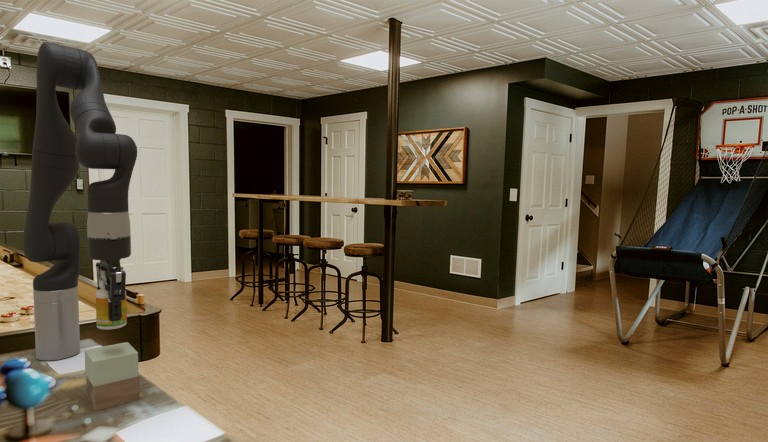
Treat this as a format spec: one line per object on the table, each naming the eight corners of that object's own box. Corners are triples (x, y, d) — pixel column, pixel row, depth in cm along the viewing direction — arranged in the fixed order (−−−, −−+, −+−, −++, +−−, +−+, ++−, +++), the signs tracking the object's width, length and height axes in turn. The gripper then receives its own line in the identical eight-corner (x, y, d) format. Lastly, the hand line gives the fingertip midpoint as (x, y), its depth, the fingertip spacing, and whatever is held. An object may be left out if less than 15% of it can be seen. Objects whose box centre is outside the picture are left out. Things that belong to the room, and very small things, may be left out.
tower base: (86, 396, 100) (86, 373, 99) (129, 386, 105) (128, 364, 104) (95, 411, 94) (94, 387, 93) (139, 399, 99) (139, 376, 98)
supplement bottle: (113, 331, 95) (112, 282, 94) (89, 328, 96) (88, 280, 95) (132, 323, 100) (131, 277, 99) (110, 320, 101) (109, 275, 100)
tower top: (85, 373, 99) (84, 350, 99) (127, 364, 104) (127, 341, 104) (93, 386, 93) (92, 361, 93) (138, 376, 99) (137, 352, 98)
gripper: (80, 231, 99) (83, 311, 101) (95, 239, 88) (98, 329, 90) (120, 229, 104) (122, 306, 105) (139, 237, 93) (141, 322, 95)
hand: (111, 316), depth 98 cm, fingers closed on supplement bottle, 5 cm apart
